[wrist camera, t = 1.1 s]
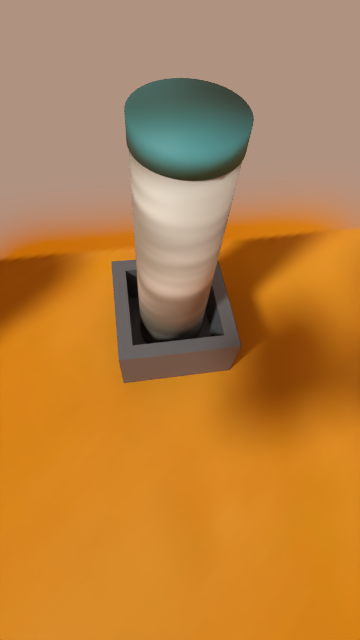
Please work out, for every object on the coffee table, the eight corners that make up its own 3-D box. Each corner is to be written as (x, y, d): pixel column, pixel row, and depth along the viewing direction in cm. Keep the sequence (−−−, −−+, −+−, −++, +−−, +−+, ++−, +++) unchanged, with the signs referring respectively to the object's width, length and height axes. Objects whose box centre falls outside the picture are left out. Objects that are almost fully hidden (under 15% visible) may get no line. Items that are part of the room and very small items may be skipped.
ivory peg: (212, 337, 23) (279, 130, 11) (157, 364, 21) (163, 165, 9) (181, 292, 24) (209, 69, 12) (129, 314, 23) (103, 92, 11)
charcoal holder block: (229, 369, 22) (241, 346, 19) (123, 383, 21) (118, 360, 18) (208, 285, 25) (216, 253, 22) (116, 293, 25) (111, 261, 22)
